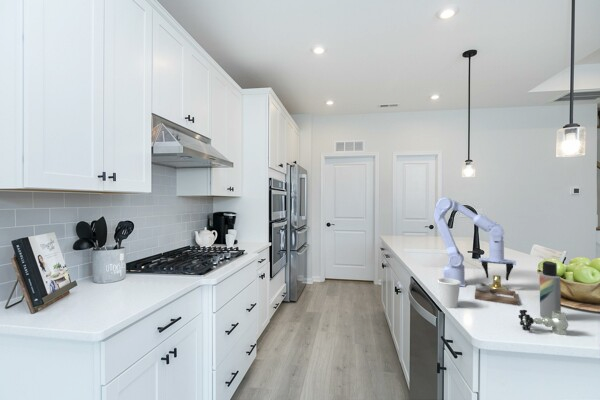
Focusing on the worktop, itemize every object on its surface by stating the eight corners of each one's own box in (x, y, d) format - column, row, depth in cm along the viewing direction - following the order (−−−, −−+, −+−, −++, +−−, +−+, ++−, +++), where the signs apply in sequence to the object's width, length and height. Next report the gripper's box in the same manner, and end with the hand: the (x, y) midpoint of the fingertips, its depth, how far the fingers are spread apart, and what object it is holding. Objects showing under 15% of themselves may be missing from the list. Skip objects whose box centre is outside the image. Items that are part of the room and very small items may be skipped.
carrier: (474, 299, 125) (474, 287, 125) (475, 289, 138) (475, 278, 138) (518, 305, 117) (518, 293, 117) (514, 294, 130) (514, 283, 130)
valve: (561, 329, 96) (518, 325, 99) (560, 309, 96) (518, 306, 99) (573, 338, 89) (528, 334, 92) (573, 317, 89) (527, 313, 92)
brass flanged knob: (488, 290, 137) (488, 276, 137) (488, 286, 143) (488, 273, 143) (506, 292, 133) (506, 278, 133) (505, 288, 139) (505, 275, 139)
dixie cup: (433, 303, 120) (432, 279, 120) (447, 300, 123) (447, 277, 123) (450, 310, 112) (450, 284, 112) (465, 307, 115) (465, 282, 115)
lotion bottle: (556, 315, 106) (555, 260, 106) (564, 321, 101) (563, 264, 101) (537, 313, 108) (536, 260, 108) (544, 319, 103) (543, 263, 103)
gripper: (478, 250, 139) (479, 278, 138) (516, 252, 131) (516, 283, 131) (478, 248, 144) (479, 275, 144) (514, 250, 137) (515, 279, 137)
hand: (497, 278), depth 138 cm, fingers open, 7 cm apart
